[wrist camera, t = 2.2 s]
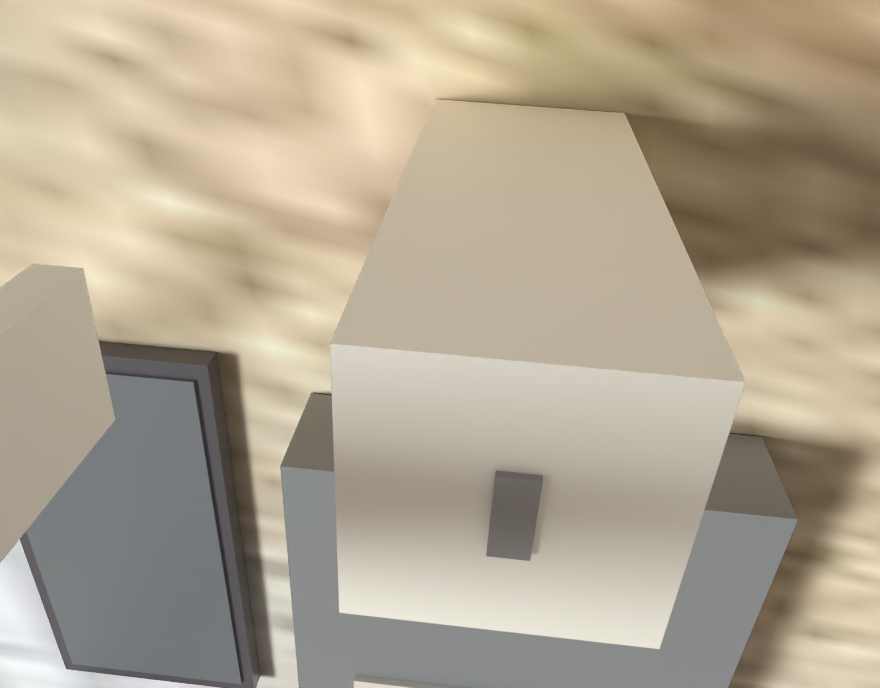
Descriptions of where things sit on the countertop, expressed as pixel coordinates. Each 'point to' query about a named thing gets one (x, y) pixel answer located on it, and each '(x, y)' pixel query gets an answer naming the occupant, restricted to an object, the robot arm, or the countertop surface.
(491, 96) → the countertop surface
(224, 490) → the phone
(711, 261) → the countertop surface
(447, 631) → the plate
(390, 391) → the block
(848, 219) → the countertop surface
